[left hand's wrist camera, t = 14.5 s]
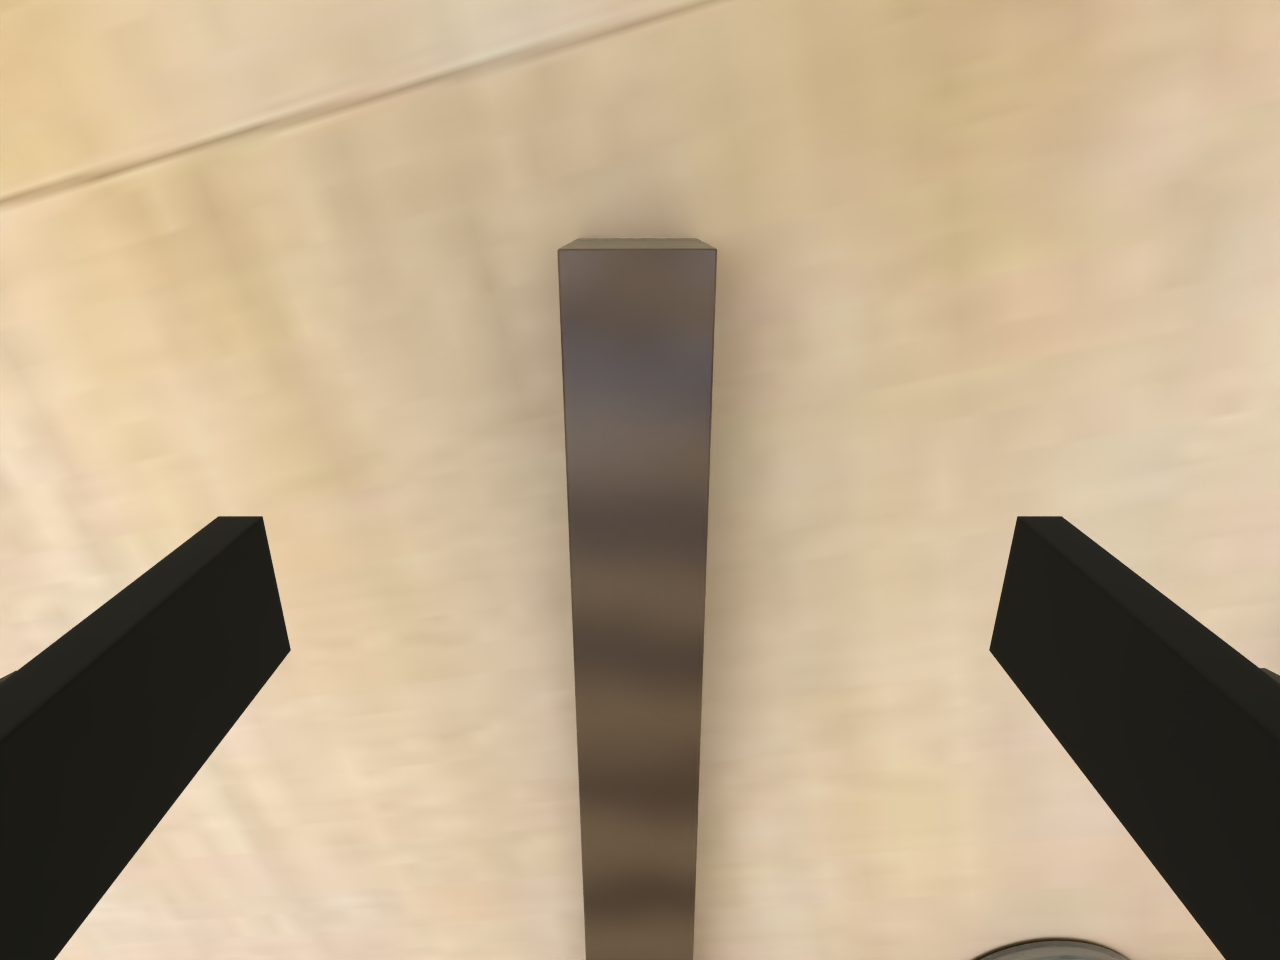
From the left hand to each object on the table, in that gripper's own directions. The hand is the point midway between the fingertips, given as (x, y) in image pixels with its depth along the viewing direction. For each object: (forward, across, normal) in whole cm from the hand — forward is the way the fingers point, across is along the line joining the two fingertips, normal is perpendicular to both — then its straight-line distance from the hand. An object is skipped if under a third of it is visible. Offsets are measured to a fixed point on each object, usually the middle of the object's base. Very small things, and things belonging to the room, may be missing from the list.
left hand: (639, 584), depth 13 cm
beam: (+21, 0, -30) cm, 36 cm away
